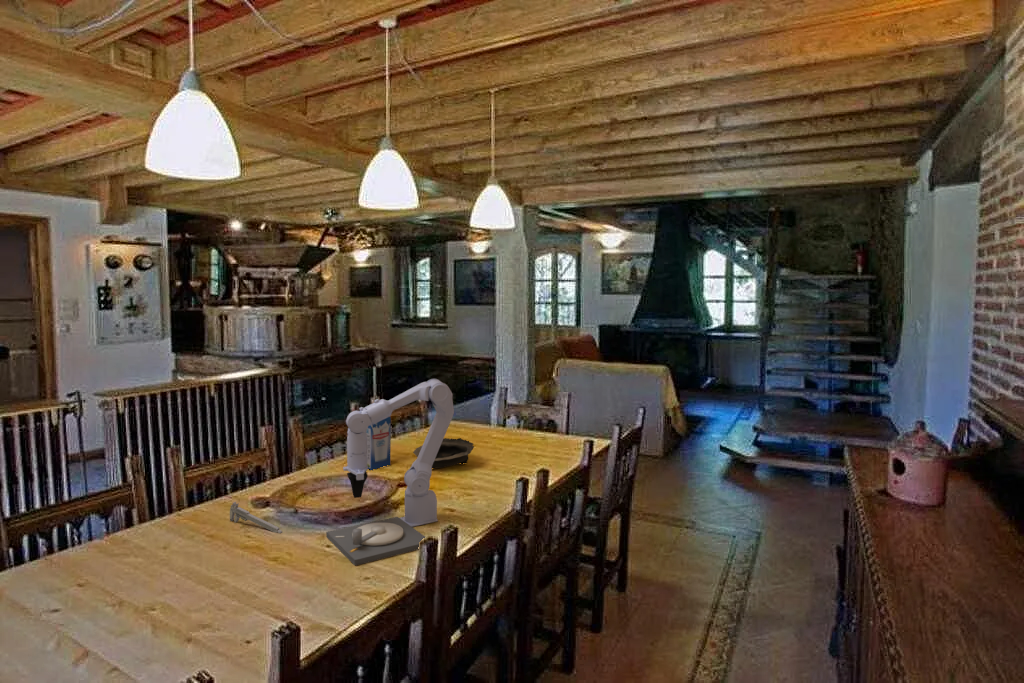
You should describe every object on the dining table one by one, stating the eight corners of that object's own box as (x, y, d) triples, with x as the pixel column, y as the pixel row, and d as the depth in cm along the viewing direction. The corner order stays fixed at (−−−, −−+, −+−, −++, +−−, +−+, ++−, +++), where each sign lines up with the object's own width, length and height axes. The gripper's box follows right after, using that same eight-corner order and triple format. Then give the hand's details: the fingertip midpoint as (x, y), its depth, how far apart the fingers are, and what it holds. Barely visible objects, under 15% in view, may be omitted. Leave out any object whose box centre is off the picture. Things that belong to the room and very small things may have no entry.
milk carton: (371, 470, 237) (371, 420, 236) (361, 467, 241) (361, 418, 239) (390, 465, 245) (390, 416, 243) (380, 462, 249) (380, 414, 247)
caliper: (229, 522, 182) (229, 502, 182) (232, 521, 183) (232, 501, 183) (279, 534, 174) (279, 513, 173) (282, 533, 175) (282, 512, 174)
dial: (373, 522, 178) (373, 507, 178) (412, 531, 173) (413, 515, 172) (333, 543, 163) (333, 527, 162) (375, 553, 157) (375, 536, 157)
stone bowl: (478, 457, 258) (478, 437, 257) (468, 479, 233) (468, 456, 232) (421, 454, 260) (421, 433, 259) (406, 475, 236) (406, 453, 234)
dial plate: (397, 521, 185) (397, 515, 184) (431, 546, 167) (431, 540, 167) (326, 536, 172) (326, 531, 172) (354, 565, 154) (354, 559, 154)
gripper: (340, 447, 183) (341, 490, 184) (345, 459, 169) (345, 506, 170) (364, 445, 185) (364, 488, 186) (371, 457, 172) (371, 503, 173)
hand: (357, 496), depth 178 cm, fingers closed
